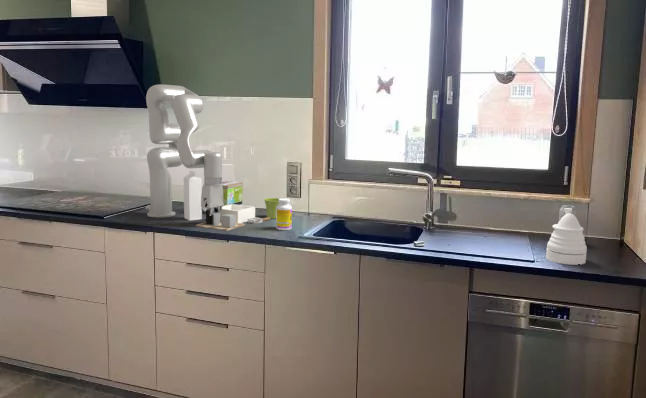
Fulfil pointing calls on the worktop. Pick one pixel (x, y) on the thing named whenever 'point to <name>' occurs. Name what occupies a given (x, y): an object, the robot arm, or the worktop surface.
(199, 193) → the milk
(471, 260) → the worktop surface
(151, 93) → the robot arm
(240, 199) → the tea box
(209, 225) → the tray
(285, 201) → the supplement bottle
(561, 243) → the honey pot
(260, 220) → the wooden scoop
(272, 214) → the plant pot
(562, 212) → the clear tall block
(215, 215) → the grey block
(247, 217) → the bin
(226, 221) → the gray block
